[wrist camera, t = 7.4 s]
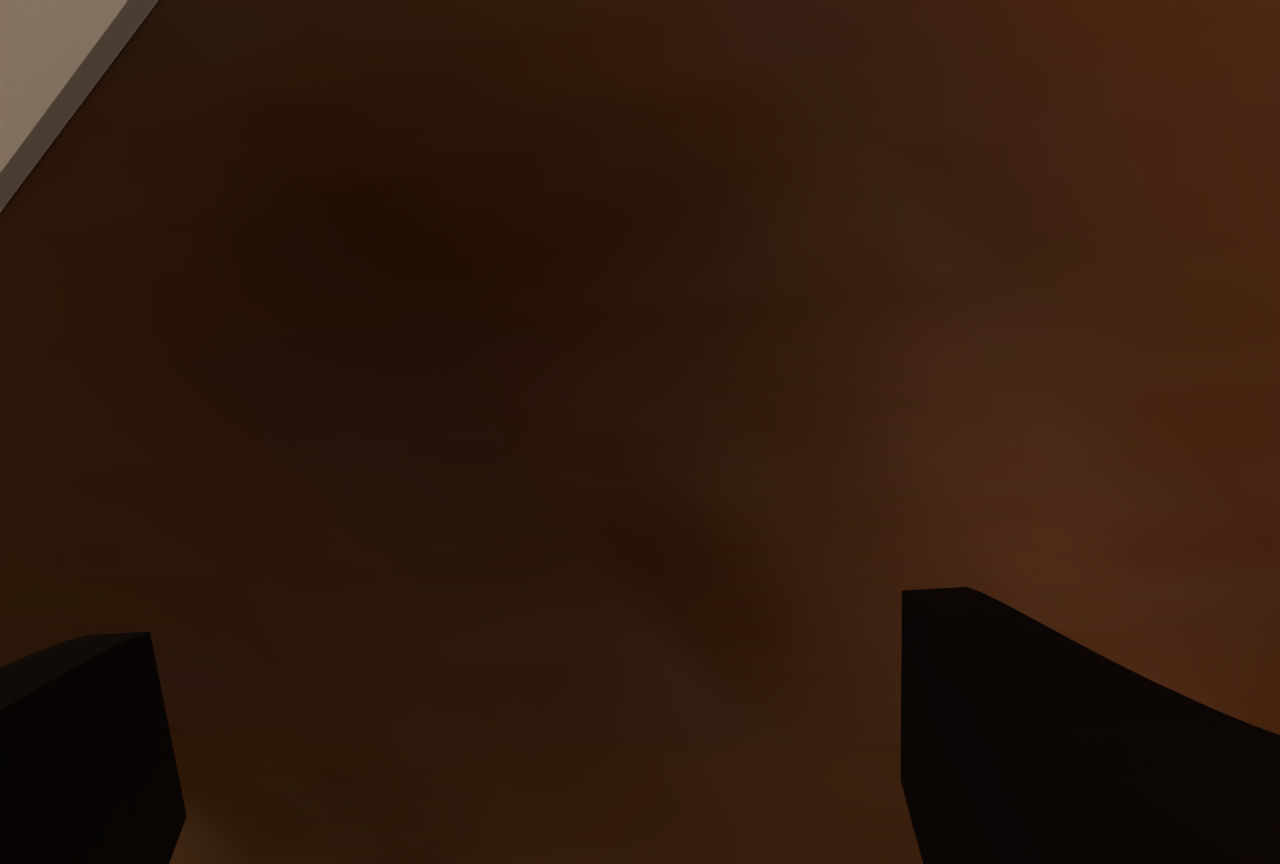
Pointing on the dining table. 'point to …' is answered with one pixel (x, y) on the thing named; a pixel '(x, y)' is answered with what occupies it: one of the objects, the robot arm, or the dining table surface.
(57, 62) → the pin board
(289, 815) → the dining table surface
